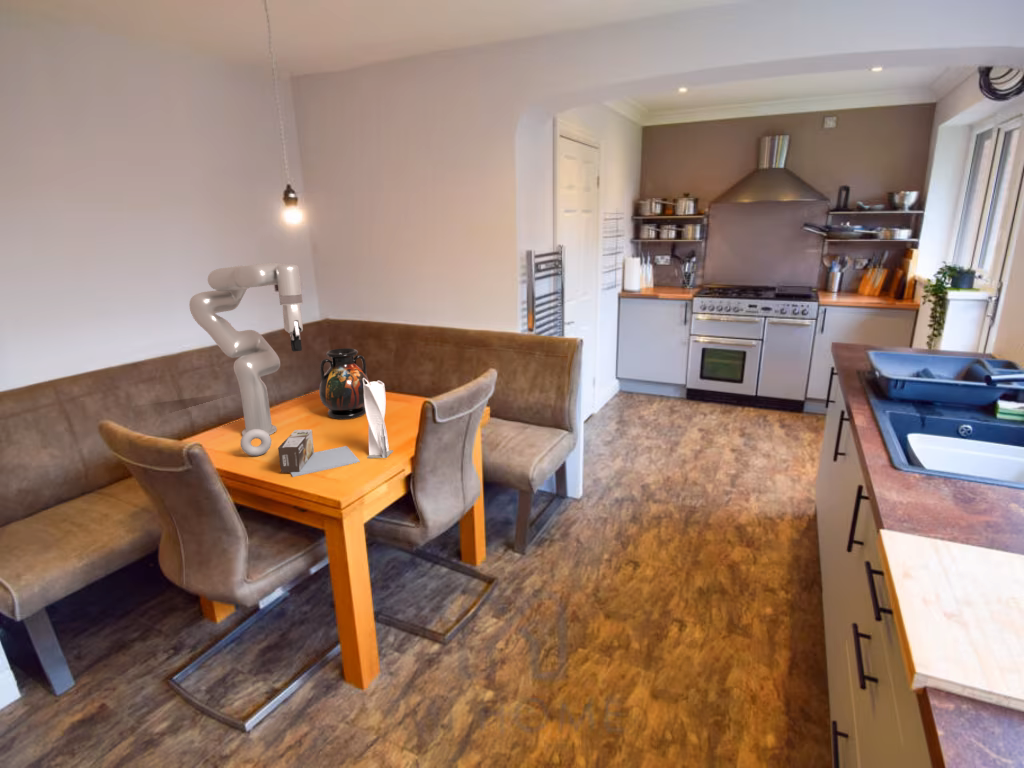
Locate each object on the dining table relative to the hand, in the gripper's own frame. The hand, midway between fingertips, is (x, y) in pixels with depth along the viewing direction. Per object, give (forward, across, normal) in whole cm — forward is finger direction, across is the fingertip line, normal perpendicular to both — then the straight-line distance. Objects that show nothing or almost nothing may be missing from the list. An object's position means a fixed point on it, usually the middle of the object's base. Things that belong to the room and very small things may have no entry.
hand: (296, 350), depth 202 cm
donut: (+35, +5, -18) cm, 40 cm away
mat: (+35, +22, 0) cm, 42 cm away
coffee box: (+30, +14, -3) cm, 33 cm away
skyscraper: (+35, +27, +19) cm, 48 cm away
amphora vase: (+35, -24, +22) cm, 48 cm away
